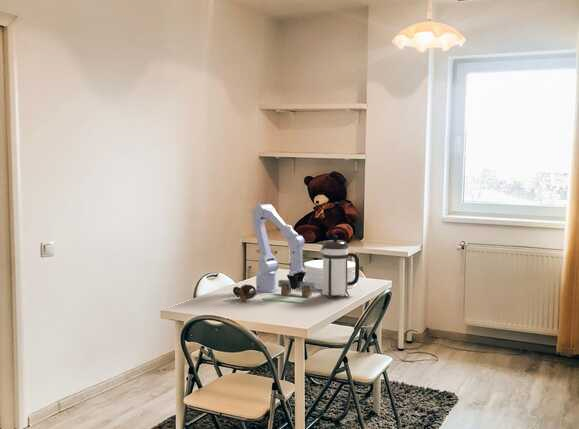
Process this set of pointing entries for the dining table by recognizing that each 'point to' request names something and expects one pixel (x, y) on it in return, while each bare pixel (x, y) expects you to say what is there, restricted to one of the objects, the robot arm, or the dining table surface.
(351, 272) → the plate stack
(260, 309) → the dining table surface
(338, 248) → the coffee press
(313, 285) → the rail
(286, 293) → the bracket left
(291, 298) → the mat
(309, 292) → the bracket right
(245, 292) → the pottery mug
